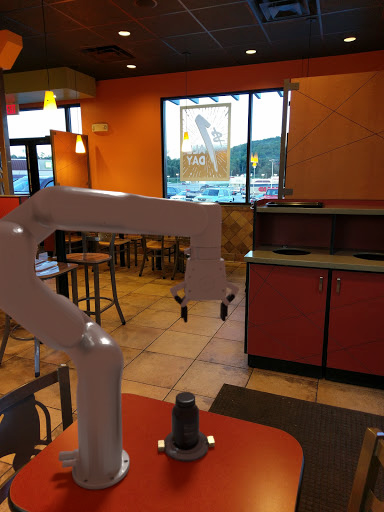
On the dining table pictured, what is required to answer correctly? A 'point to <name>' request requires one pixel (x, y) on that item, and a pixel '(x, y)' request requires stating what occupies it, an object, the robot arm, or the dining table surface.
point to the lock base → (186, 454)
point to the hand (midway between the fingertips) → (204, 320)
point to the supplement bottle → (185, 422)
